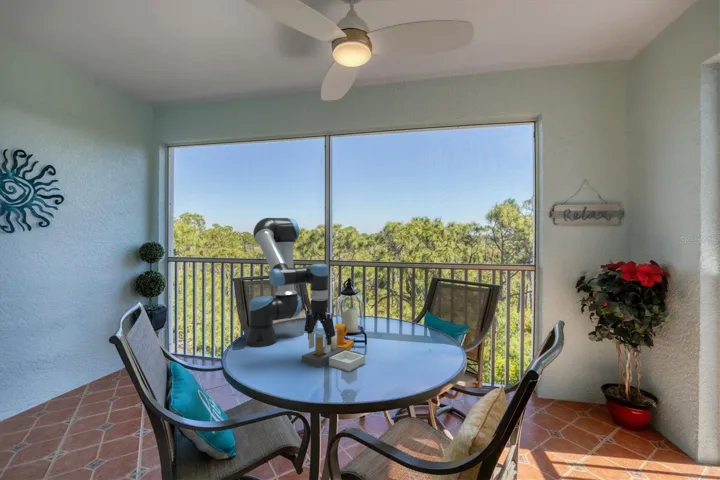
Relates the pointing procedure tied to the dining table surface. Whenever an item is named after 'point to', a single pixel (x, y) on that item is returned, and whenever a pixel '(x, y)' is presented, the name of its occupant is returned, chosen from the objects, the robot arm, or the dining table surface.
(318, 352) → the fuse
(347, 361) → the parts tray
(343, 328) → the bracket
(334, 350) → the fuse block
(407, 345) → the dining table surface
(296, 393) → the dining table surface
